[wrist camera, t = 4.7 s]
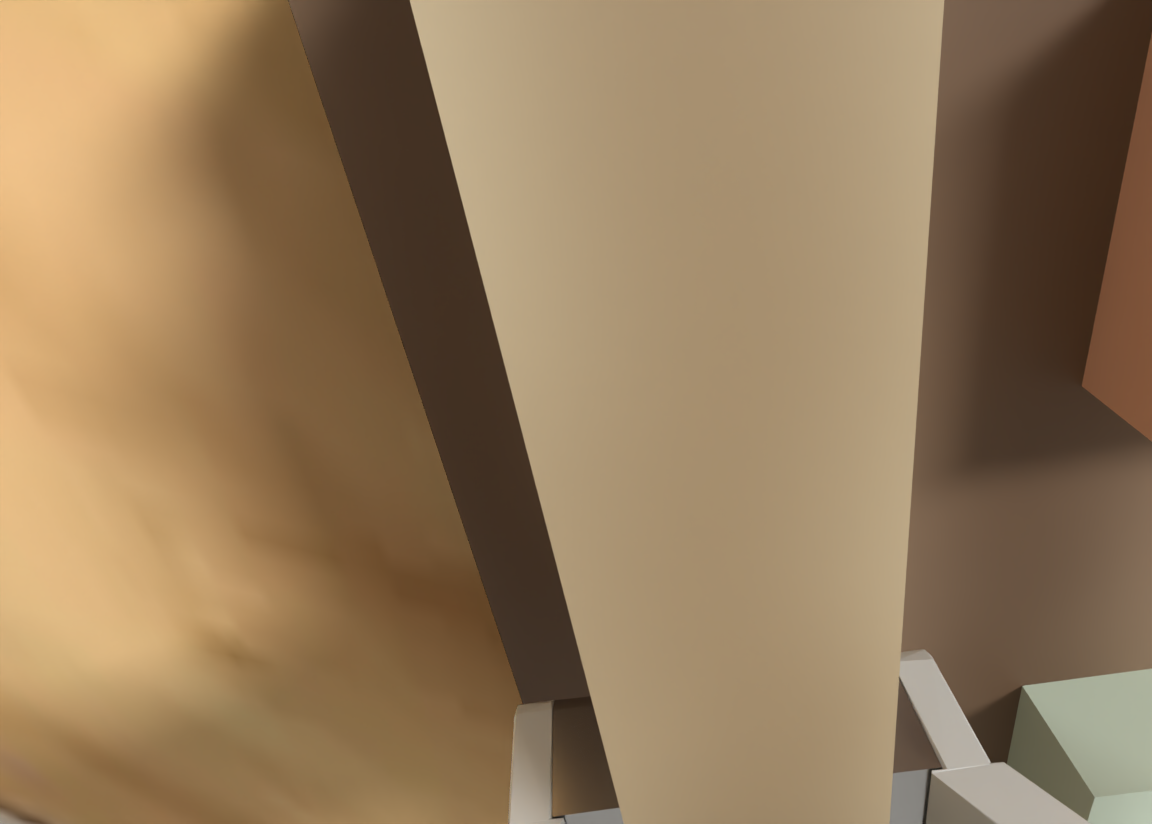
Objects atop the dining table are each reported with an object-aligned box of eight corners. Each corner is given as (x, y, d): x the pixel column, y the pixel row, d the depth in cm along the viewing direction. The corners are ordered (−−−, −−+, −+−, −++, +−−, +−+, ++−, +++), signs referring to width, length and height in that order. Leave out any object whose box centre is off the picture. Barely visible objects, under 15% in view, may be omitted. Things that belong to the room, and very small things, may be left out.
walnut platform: (595, 731, 23) (607, 957, 17) (361, -158, 11) (199, -265, 6) (1140, 658, 21) (1326, 877, 16) (1476, -412, 10) (2413, -803, 5)
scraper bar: (689, 952, 16) (725, 1213, 13) (450, -174, 6) (317, -356, 3) (799, 940, 16) (864, 1201, 13) (738, -239, 6) (978, -519, 3)
